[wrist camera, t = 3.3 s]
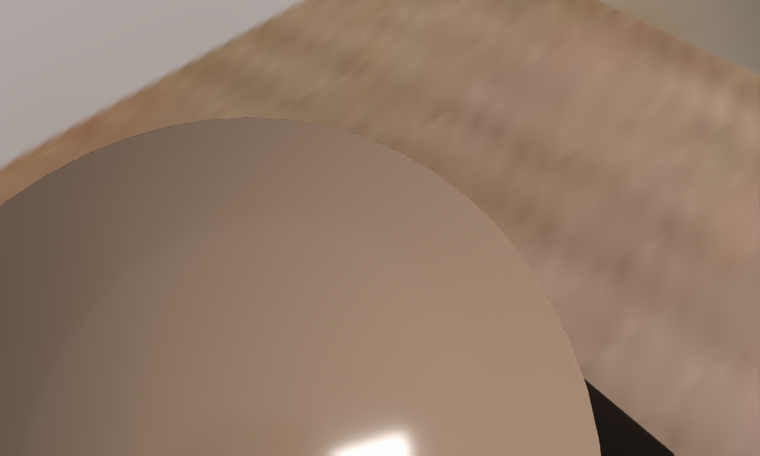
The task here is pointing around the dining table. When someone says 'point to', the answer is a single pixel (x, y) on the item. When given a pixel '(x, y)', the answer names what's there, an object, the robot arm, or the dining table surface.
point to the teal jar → (273, 307)
